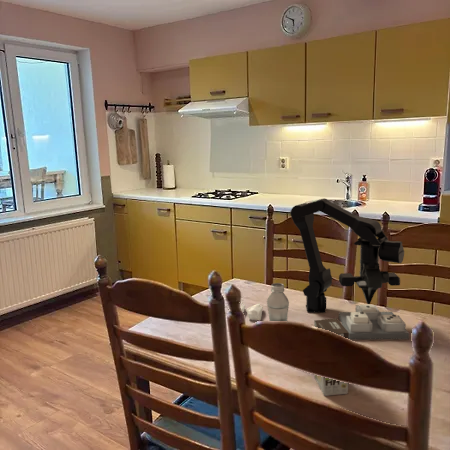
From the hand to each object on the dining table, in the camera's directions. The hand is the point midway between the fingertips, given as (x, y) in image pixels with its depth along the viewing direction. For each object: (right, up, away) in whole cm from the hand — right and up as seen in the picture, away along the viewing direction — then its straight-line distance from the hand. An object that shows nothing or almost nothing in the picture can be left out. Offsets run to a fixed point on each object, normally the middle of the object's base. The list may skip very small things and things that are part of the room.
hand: (368, 303), depth 146 cm
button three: (+4, -6, -8) cm, 11 cm away
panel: (0, -7, -4) cm, 8 cm away
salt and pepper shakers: (-39, -6, +12) cm, 41 cm away
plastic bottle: (-32, -11, -15) cm, 37 cm away
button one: (0, -4, +1) cm, 4 cm away
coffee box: (-21, -14, -35) cm, 44 cm away
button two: (-6, -5, -8) cm, 11 cm away
